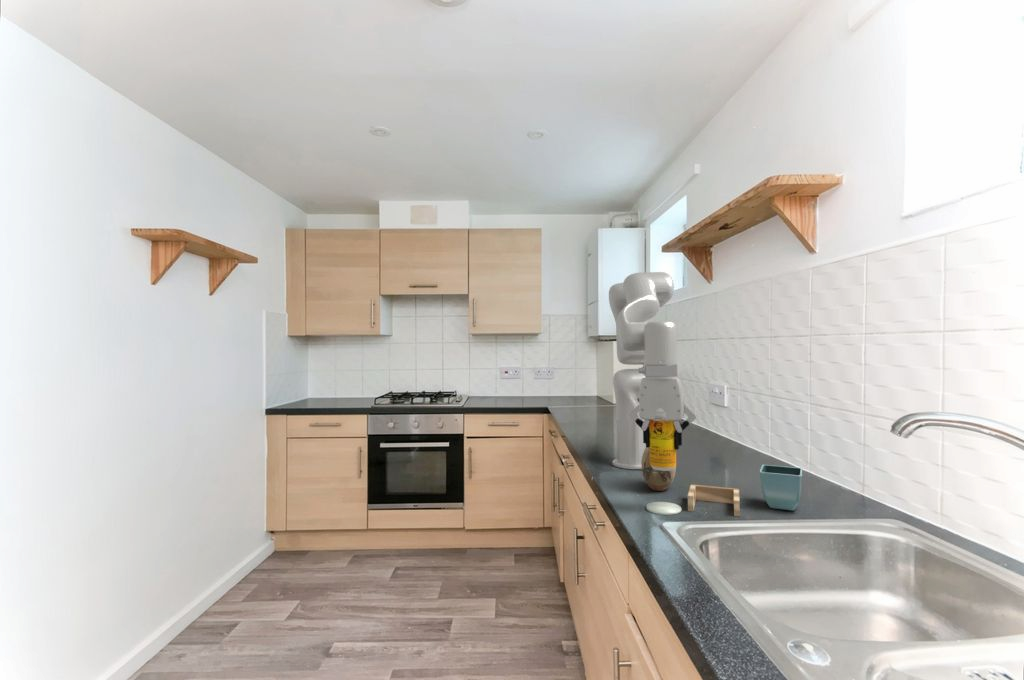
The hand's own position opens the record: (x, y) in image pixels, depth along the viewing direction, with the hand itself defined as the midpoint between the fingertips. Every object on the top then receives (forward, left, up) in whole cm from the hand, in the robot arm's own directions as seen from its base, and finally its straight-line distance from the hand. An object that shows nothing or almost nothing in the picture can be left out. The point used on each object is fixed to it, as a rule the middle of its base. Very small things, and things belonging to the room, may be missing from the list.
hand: (662, 446), depth 119 cm
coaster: (0, 0, -15) cm, 15 cm away
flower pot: (-12, +26, -15) cm, 32 cm away
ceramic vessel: (-17, -3, -15) cm, 23 cm away
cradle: (-6, +11, -15) cm, 20 cm away
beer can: (0, 0, -5) cm, 5 cm away
